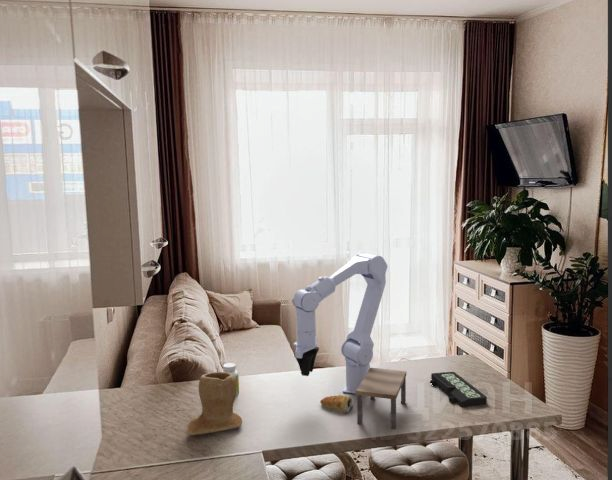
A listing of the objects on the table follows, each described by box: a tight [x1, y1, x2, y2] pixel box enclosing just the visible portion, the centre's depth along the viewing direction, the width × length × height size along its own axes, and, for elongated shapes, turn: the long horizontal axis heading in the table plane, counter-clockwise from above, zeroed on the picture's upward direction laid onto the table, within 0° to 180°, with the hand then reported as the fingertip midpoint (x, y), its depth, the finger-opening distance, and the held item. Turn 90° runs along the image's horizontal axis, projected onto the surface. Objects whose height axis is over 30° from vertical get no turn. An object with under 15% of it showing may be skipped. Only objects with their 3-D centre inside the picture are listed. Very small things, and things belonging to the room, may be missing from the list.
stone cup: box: [187, 371, 243, 436], centre depth 144 cm, size 15×12×15 cm
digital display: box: [429, 371, 488, 408], centre depth 164 cm, size 21×3×10 cm
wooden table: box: [355, 367, 407, 430], centre depth 150 cm, size 18×11×10 cm, turn 160°
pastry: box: [319, 394, 354, 414], centre depth 155 cm, size 9×7×4 cm
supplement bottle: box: [222, 362, 240, 397], centre depth 166 cm, size 5×5×10 cm
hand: (307, 373), depth 158 cm, fingers open, 3 cm apart
